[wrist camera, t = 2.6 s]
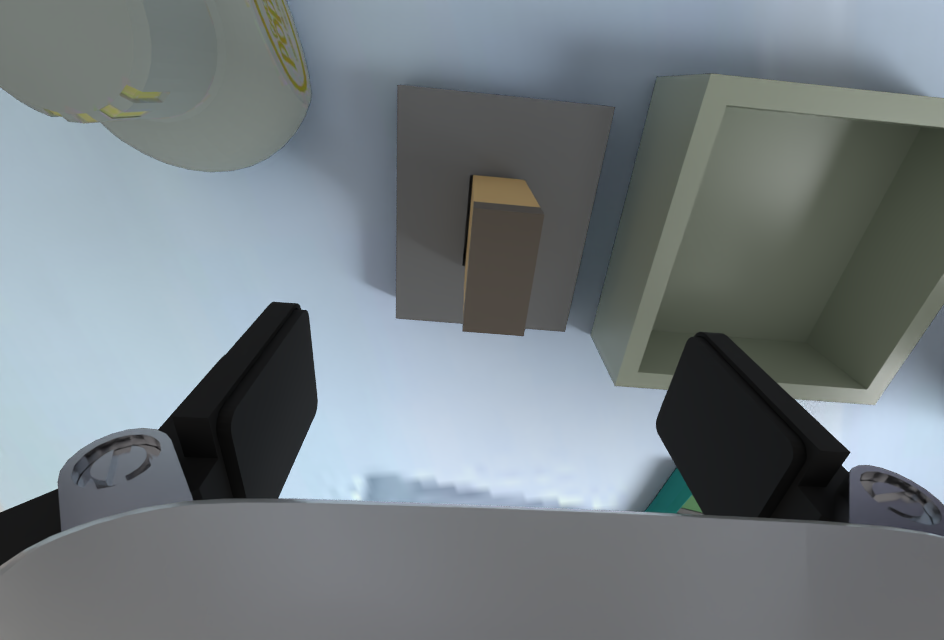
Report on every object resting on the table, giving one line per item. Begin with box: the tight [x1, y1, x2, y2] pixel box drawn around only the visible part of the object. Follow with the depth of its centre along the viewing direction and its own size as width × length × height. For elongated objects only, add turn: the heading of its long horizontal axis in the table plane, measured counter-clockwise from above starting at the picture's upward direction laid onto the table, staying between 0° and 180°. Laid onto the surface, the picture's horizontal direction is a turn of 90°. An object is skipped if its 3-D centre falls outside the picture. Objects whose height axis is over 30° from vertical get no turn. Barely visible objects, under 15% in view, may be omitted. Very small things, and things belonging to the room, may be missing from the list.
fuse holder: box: [396, 85, 615, 332], centre depth 24 cm, size 10×12×2 cm
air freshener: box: [0, 0, 311, 172], centre depth 16 cm, size 11×8×10 cm
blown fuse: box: [463, 175, 544, 336], centre depth 20 cm, size 2×5×9 cm, turn 175°
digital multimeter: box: [645, 468, 704, 515], centre depth 37 cm, size 7×15×3 cm, turn 162°
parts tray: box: [591, 73, 944, 405], centre depth 23 cm, size 15×15×6 cm
